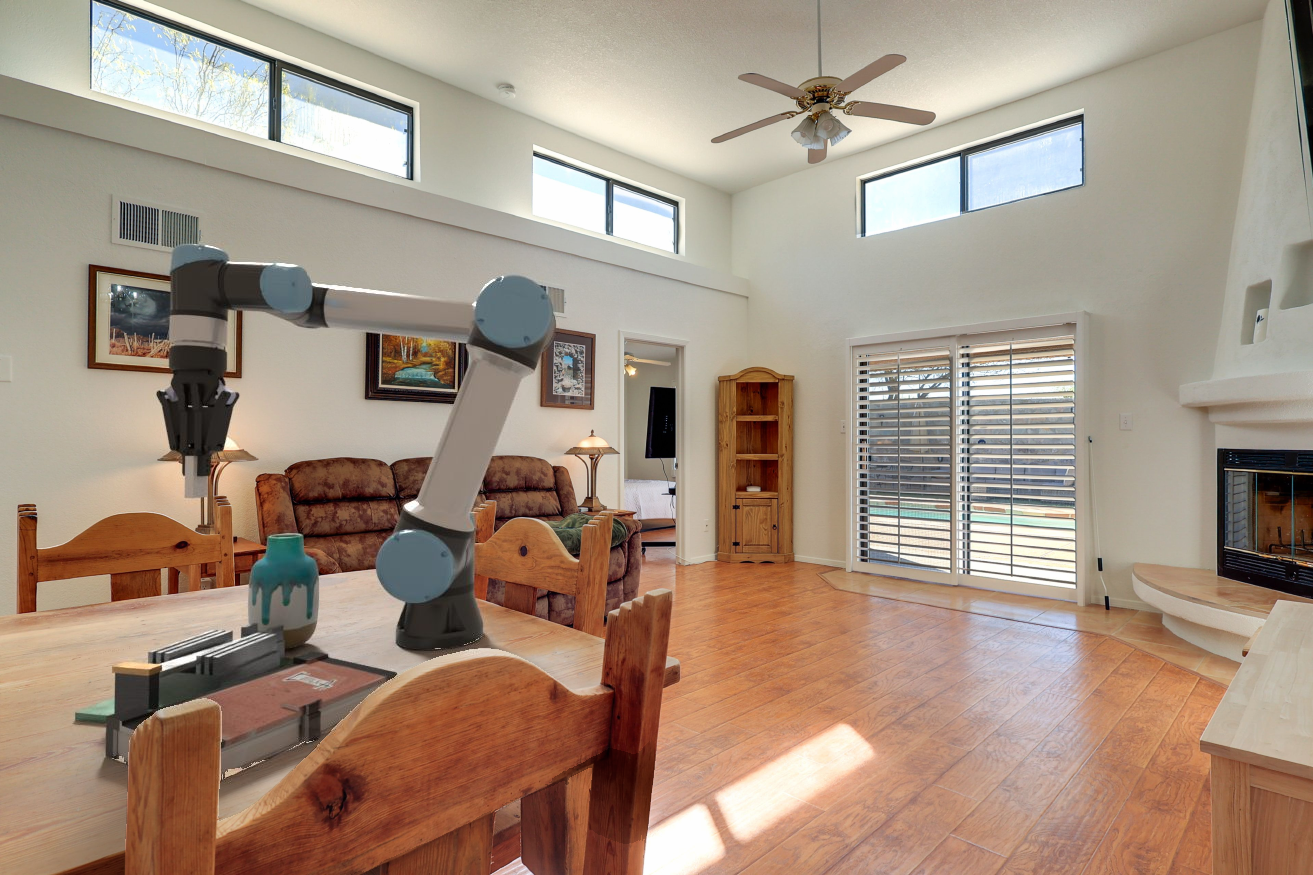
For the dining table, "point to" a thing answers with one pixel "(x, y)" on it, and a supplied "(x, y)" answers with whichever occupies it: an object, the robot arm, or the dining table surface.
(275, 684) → the brown labeled slab
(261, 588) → the vase
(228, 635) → the heatsink
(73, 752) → the dining table surface
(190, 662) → the strap
